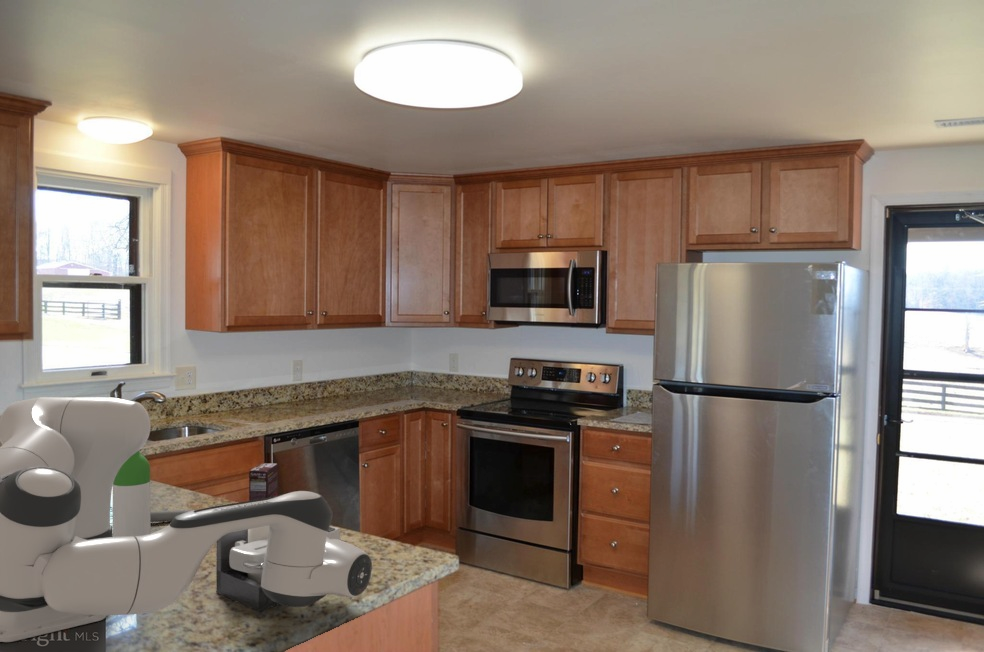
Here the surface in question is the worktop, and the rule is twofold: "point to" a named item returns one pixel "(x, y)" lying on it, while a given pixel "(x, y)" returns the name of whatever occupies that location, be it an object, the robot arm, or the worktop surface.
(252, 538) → the kitchen roll
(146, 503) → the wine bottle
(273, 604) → the holder
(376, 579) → the worktop surface
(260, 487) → the supplement box
